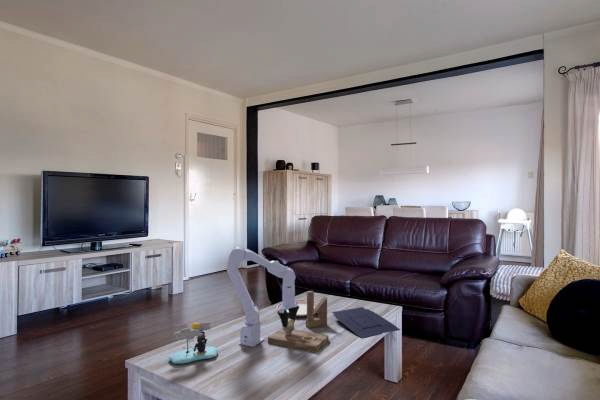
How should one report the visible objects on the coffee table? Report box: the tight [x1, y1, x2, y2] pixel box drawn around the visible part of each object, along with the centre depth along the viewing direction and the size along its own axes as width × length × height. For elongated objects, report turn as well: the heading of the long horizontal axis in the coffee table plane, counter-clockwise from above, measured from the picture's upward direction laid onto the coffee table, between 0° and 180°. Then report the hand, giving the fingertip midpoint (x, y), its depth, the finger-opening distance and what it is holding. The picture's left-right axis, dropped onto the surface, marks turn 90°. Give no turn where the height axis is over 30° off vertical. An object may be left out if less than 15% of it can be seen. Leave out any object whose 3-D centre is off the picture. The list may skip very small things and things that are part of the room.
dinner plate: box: [276, 299, 320, 317], centre depth 217 cm, size 28×27×3 cm
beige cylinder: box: [282, 318, 295, 336], centre depth 174 cm, size 5×5×6 cm
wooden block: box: [305, 290, 328, 329], centre depth 193 cm, size 4×11×18 cm, turn 113°
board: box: [267, 327, 329, 353], centre depth 172 cm, size 14×24×2 cm, turn 64°
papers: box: [331, 306, 401, 339], centre depth 194 cm, size 24×30×4 cm
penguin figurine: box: [168, 321, 219, 365], centre depth 155 cm, size 20×11×15 cm, turn 113°
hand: (288, 324), depth 174 cm, fingers open, 7 cm apart
